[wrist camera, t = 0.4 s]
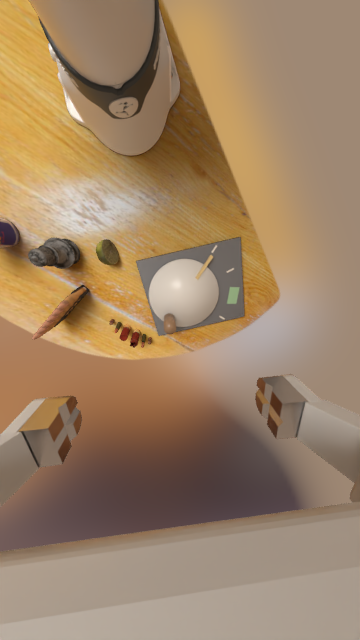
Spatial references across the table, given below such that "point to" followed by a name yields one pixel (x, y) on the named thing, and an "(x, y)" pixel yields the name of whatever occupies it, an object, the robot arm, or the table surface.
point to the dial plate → (222, 266)
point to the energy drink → (8, 234)
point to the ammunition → (134, 337)
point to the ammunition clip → (62, 311)
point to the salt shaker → (55, 253)
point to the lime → (107, 252)
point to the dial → (183, 293)
